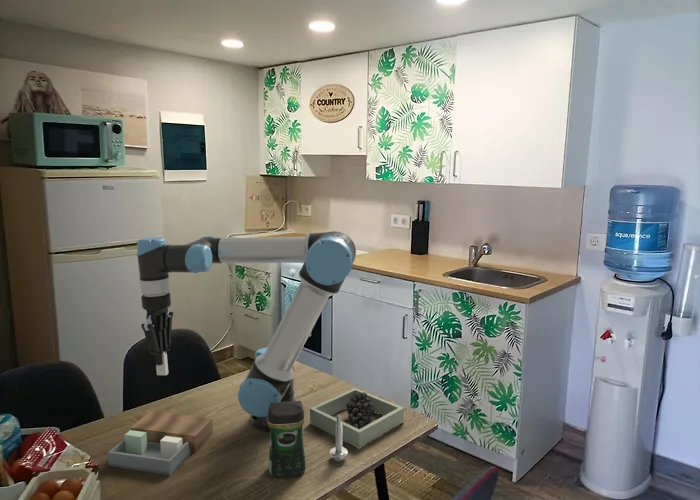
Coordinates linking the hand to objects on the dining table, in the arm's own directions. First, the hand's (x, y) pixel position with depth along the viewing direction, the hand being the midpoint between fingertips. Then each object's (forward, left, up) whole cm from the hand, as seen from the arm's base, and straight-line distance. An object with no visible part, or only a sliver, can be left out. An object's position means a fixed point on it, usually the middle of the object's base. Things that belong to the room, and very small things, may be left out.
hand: (162, 374), depth 145 cm
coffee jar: (-39, +7, -20) cm, 44 cm away
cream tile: (-8, +8, -16) cm, 20 cm away
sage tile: (+3, +8, -16) cm, 18 cm away
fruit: (-52, -20, -20) cm, 60 cm away
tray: (-2, +11, -20) cm, 23 cm away
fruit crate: (-52, -21, -20) cm, 60 cm away
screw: (-51, -1, -20) cm, 55 cm away
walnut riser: (-2, 0, -20) cm, 20 cm away
